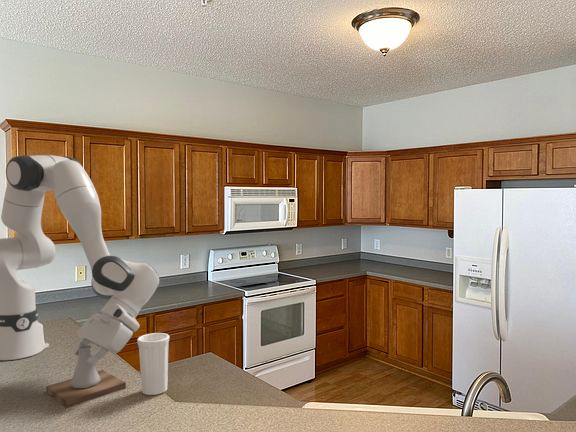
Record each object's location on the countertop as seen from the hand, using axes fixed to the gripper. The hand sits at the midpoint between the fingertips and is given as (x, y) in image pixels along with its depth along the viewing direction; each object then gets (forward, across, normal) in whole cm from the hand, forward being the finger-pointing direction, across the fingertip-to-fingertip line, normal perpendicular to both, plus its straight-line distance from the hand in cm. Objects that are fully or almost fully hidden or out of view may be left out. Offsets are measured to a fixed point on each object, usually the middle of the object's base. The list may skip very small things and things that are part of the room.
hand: (82, 359), depth 117 cm
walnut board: (+6, 0, +6) cm, 8 cm away
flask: (+4, 0, +6) cm, 7 cm away
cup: (-3, +15, +15) cm, 21 cm away
